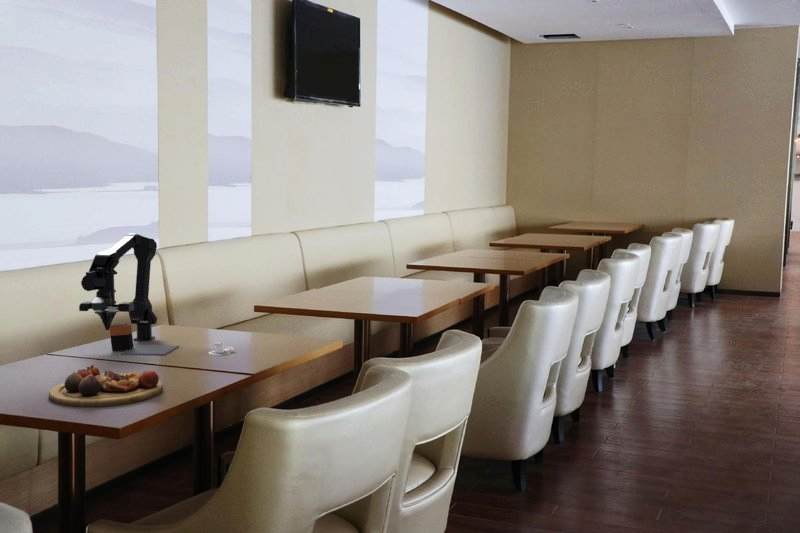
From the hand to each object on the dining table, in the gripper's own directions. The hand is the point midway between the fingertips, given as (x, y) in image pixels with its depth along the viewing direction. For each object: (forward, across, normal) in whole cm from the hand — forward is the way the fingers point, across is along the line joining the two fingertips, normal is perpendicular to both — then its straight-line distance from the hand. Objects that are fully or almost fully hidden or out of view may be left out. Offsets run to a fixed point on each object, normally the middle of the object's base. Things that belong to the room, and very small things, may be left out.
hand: (107, 329), depth 328 cm
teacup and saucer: (+8, +45, -3) cm, 46 cm away
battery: (+7, +6, 0) cm, 9 cm away
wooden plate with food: (+8, +26, -63) cm, 69 cm away
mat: (+8, +16, 0) cm, 18 cm away
